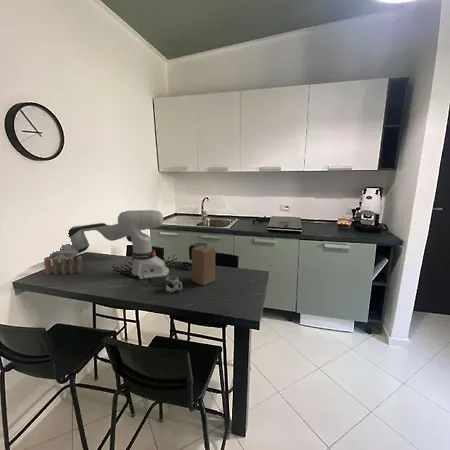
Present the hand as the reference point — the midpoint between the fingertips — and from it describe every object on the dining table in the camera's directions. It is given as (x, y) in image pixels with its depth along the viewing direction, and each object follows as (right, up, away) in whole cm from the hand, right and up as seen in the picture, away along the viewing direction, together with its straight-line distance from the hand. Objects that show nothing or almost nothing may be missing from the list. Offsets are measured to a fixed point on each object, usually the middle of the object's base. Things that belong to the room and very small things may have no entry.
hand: (54, 257), depth 176 cm
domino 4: (+15, -9, -6) cm, 18 cm away
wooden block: (+95, -12, -15) cm, 97 cm away
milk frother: (+88, -7, +7) cm, 89 cm away
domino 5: (+19, -9, -5) cm, 22 cm away
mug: (+81, -15, -26) cm, 86 cm away
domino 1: (+1, -9, -8) cm, 12 cm away
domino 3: (+10, -9, -6) cm, 15 cm away
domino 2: (+6, -9, -7) cm, 13 cm away
